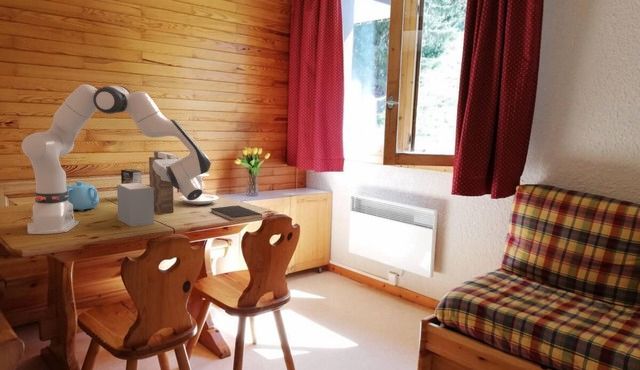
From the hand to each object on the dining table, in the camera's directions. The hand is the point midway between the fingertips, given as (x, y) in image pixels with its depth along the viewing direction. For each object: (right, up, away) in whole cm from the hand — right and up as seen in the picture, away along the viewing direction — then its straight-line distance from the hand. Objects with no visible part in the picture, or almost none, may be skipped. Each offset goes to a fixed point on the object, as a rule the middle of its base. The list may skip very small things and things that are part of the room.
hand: (169, 155), depth 219 cm
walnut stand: (-8, -26, +12) cm, 30 cm away
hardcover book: (+29, -29, +11) cm, 42 cm away
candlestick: (+3, -23, +35) cm, 43 cm away
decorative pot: (-47, -25, +11) cm, 55 cm away
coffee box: (-34, -22, +39) cm, 56 cm away
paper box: (-12, -30, -11) cm, 34 cm away
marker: (-4, -1, +5) cm, 6 cm away
